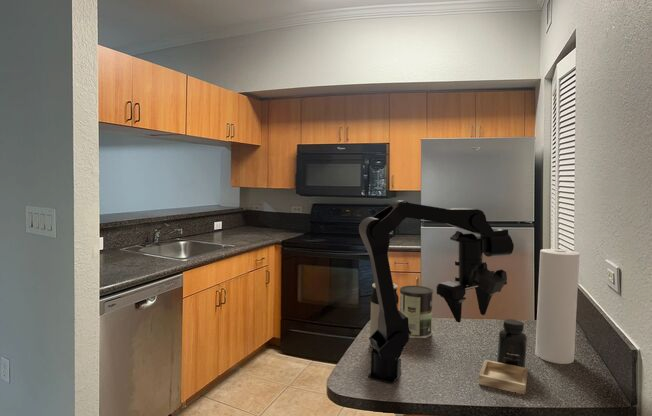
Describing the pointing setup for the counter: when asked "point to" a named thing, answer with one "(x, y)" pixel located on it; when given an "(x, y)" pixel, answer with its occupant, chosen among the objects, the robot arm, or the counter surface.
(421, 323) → the coffee can
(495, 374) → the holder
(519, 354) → the supplement bottle
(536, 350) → the paper towel roll
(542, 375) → the counter surface
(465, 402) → the counter surface
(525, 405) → the counter surface
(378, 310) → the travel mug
